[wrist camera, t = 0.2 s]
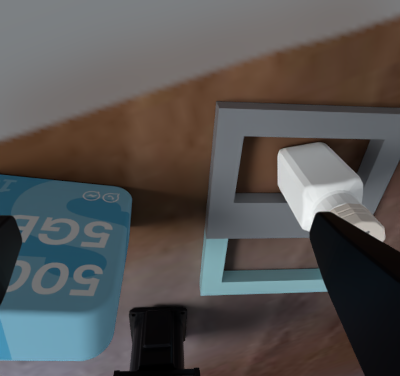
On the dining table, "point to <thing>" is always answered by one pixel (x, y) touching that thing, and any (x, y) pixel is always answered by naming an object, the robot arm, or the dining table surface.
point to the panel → (275, 202)
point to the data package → (63, 268)
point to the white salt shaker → (323, 187)
